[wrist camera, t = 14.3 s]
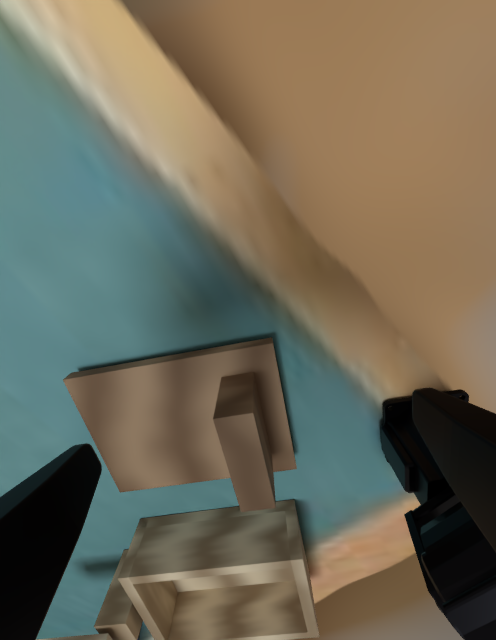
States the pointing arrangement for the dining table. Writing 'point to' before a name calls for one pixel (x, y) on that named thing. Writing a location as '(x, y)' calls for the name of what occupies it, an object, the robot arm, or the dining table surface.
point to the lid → (191, 420)
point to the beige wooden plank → (84, 637)
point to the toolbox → (213, 578)
